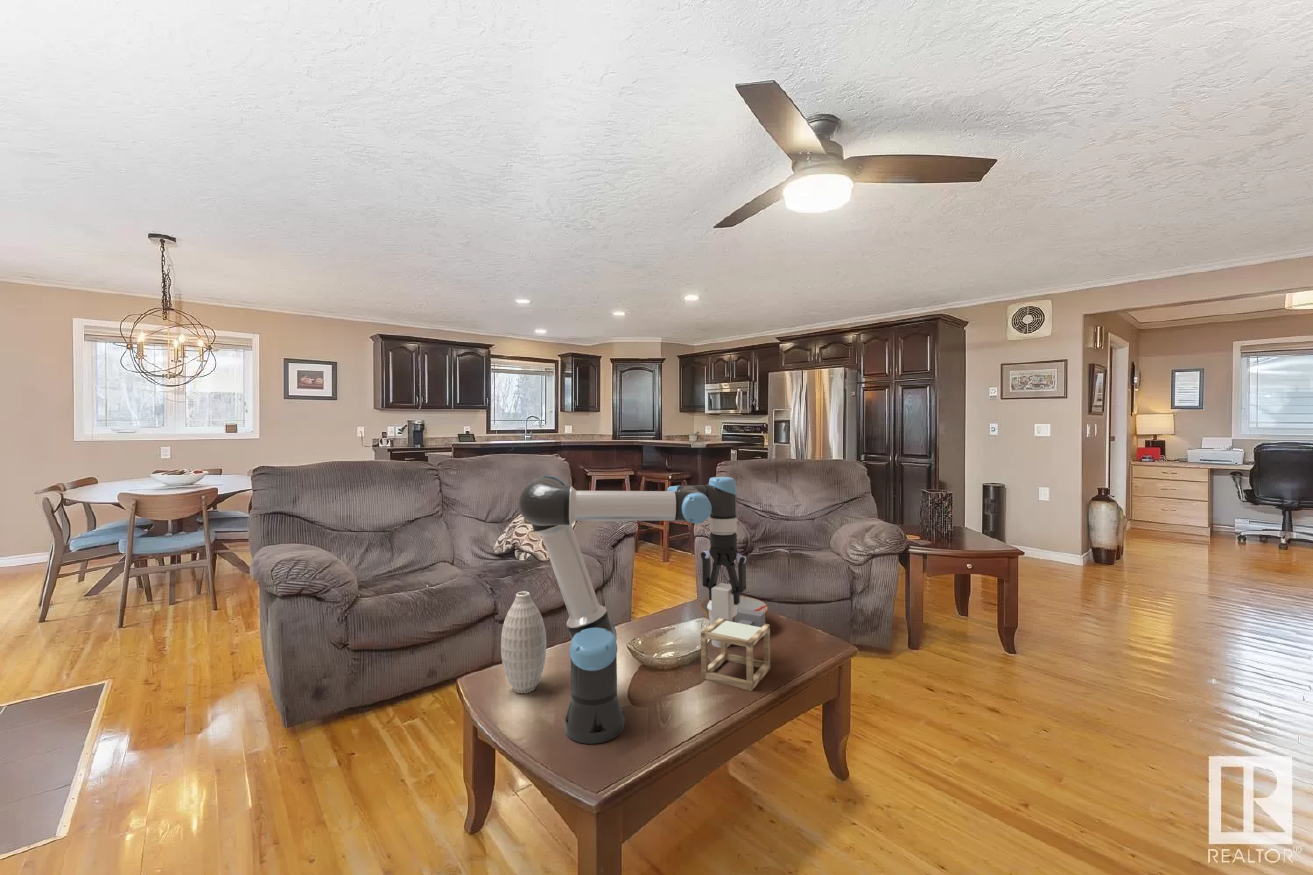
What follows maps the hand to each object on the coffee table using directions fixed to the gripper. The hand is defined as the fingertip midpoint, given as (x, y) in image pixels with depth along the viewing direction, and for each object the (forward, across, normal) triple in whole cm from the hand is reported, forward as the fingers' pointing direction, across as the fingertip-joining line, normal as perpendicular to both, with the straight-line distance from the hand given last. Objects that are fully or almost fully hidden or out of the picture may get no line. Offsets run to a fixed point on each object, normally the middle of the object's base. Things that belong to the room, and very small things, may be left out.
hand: (724, 613), depth 156 cm
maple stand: (+23, +2, -13) cm, 26 cm away
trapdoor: (+13, +2, -17) cm, 21 cm away
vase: (+23, +52, +27) cm, 63 cm away
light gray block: (0, 0, 0) cm, 0 cm away
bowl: (+23, +18, -47) cm, 56 cm away
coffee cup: (+23, +16, -30) cm, 41 cm away
